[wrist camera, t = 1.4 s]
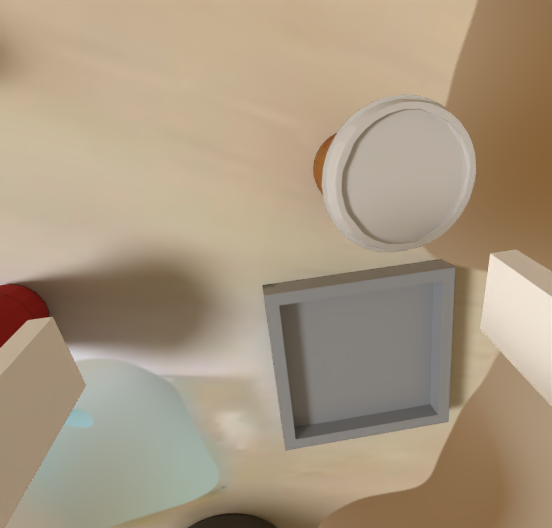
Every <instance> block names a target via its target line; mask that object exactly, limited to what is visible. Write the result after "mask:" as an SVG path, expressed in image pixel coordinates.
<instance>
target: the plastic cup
mask: <svg viewBox="0 0 552 528" xmlns="http://www.w3.org/2000/svg"><path fill="white" fill-rule="evenodd" d="M47 317H49V312H48V309H47V306H46V304H45V302H44V301H43V300H42V299H41V297H40V296H39V295H38V294H37V293H36V292H34V291H32V290H30V289H28V288H26V287H24V286H19V285H13V284H9V285H1V286H0V348H1V347H2V346H3V345H4V344H5V343H6V342H7V341H8V340H9V339H10V338H11V337H12V336H13V335H14V334H15V333H16V332H17V331H18V330H19V329H20V328H21V327H22V326H23V325H24V324H25V322H26V321H27V320H33V319H40V318H47Z"/></svg>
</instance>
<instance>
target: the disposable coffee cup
mask: <svg viewBox="0 0 552 528" xmlns="http://www.w3.org/2000/svg"><path fill="white" fill-rule="evenodd" d="M313 171H314V178H315V181H316V184H317V186H318V188H319V190H320V191H321V193H322V194H323V197H324V202H325V206H326V208H327V211H328V213H329V216H330V218H331V220H332V221H333V223H334V224H335V226H336V227H337V228H338V230H339V231H340V232H341V233H342V234H343V235H344V236H346V237H347V238H348V239H349V240H350V241H352V242H353V243H355V244H357V245H359V246H361V247H363V248H365V249H369V250H373V251H377V252H399V251H405V250H409V249H413V248H417V247H420V246H423V245H425V244H427V243H429V242H431V241H433V240H435V239H436V238H438V237H439V236H441V235H442V234H444V233H445V232H446V231H447V230H448V229H449V228H450V227H451V226H452V225H453V224H454V223H455V222H456V221H457V219H458V218H459V217H460V215H461V214H462V212H463V210H464V209H465V207H466V205H467V204H468V202H469V199H470V196H471V193H472V190H473V187H474V183H475V176H476V157H475V151H474V147H473V144H472V141H471V138H470V136H469V134H468V132H467V131H466V129H465V128H464V126H463V125H462V123H461V122H460V121H459V120H458V119H457V118H456V117H455V116H453V115H452V114H451V113H450V112H449V111H448V110H447V109H446V108H445V107H443V106H442V105H440V104H439V103H437V102H435V101H433V100H430V99H428V98H426V97H421V96H417V95H406V94H402V95H394V96H389V97H385V98H382V99H379V100H377V101H374V102H372V103H370V104H368V105H367V106H365V107H363V108H362V109H360V110H359V111H358V112H356V113H355V114H354V115H353V116H351V117H350V118H349V119H348V120H347V122H346V123H345V124H344V125H343V126H342V127H341V129H340V130H339V131H338V132H337V133H336V134H334V135H333V136H331V137H330V138H328V139H327V140H326V141H325V142H324V143H323V144H322V146H321V147H320V148H319V150H318V152H317V154H316V157H315V160H314V167H313Z"/></svg>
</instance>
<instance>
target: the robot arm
mask: <svg viewBox="0 0 552 528" xmlns="http://www.w3.org/2000/svg"><path fill="white" fill-rule="evenodd" d="M480 330H481V331H482V332H483V333H484V334H485V335H486V336H487V337H488V338H489V339H490V341H491V342H492V343H493V344H494V345H495V346H496V347H497V348H498V349H499V350H500V351H501V352H502V353H503V354H504V356H505V357H506V358H507V359H508V360H509V361H510V362H511V363H512V364H513V365H514V366H515V367H516V369H517V370H518V371H519V372H520V373H521V374H522V375H523V376H524V377H525V378H526V379H527V380H528V382H530V384H532V386H533V387H534V388H535V389H536V390H537V391H538V392H539V393H540V394H541V395H542V397H543V398H544V399H545V400H546V401H547V402H548V403H549V404H550V405H551V406H552V272H551V271H550V270H548V269H547V268H545V267H543V266H542V265H540V264H539V263H537V262H535V261H534V260H532V259H530V258H529V257H527V256H526V255H524V254H523V253H521V252H519V251H518V250H510V251H504V252H497V253H491V254H490V260H489V267H488V275H487V282H486V290H485V298H484V305H483V313H482V320H481V328H480ZM85 386H86V384H85V382H84V380H83V378H82V376H81V374H80V372H79V370H78V368H77V366H76V364H75V361H74V359H73V357H72V355H71V353H70V351H69V349H68V347H67V345H66V343H65V341H64V339H63V337H62V335H61V333H60V331H59V329H58V326H57V324H56V322H55V320H54V318H53V317H47V318H40V319H33V320H27V321H26V322H25V324H24V325H23V326H22V327H21V328H20V329H19V330H18V331H17V332H16V333H15V334H14V335H13V336H12V337H11V338H10V339H9V340H8V341H7V342H6V343H5V344H4V345H3V346H2V347H1V348H0V528H5V526H6V525H7V523H8V521H9V519H10V517H11V516H12V514H13V512H14V511H15V509H16V507H17V505H18V503H19V502H20V500H21V498H22V497H23V495H24V493H25V491H26V489H27V488H28V486H29V484H30V482H31V481H32V479H33V477H34V476H35V474H36V472H37V470H38V468H39V467H40V465H41V463H42V461H43V460H44V458H45V456H46V454H47V453H48V451H49V449H50V447H51V446H52V444H53V442H54V441H55V439H56V437H57V435H58V434H59V432H60V430H61V428H62V426H63V425H64V423H65V421H66V420H67V418H68V416H69V414H70V413H71V411H72V409H73V407H74V406H75V404H76V402H77V400H78V398H79V397H80V395H81V393H82V392H83V390H84V388H85ZM189 528H275V527H274V526H272V525H271V524H269V523H268V522H266V521H264V520H261V519H259V518H255V517H251V516H246V515H222V516H216V517H212V518H208V519H205V520H203V521H200V522H198V523H196V524H194V525H192V526H191V527H189Z"/></svg>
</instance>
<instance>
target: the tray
mask: <svg viewBox="0 0 552 528" xmlns="http://www.w3.org/2000/svg"><path fill="white" fill-rule="evenodd" d="M454 286H455V267H454V266H452V265H451V264H449V263H447V262H445V261H443V260H441V259H440V260H433V261H426V262H419V263H412V264H405V265H399V266H392V267H385V268H378V269H371V270H365V271H358V272H351V273H344V274H337V275H330V276H324V277H317V278H310V279H303V280H296V281H290V282H283V283H276V284H269V285H263V292H264V299H265V307H266V314H267V321H268V328H269V336H270V343H271V350H272V358H273V365H274V372H275V379H276V387H277V394H278V401H279V408H280V416H281V423H282V430H283V437H284V443H285V449H286V450H291V449H297V448H302V447H308V446H314V445H319V444H325V443H331V442H336V441H342V440H348V439H354V438H359V437H365V436H371V435H376V434H382V433H388V432H394V431H399V430H405V429H411V428H416V427H422V426H428V425H433V424H439V423H445V422H448V420H449V398H450V376H451V353H452V331H453V309H454Z"/></svg>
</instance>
